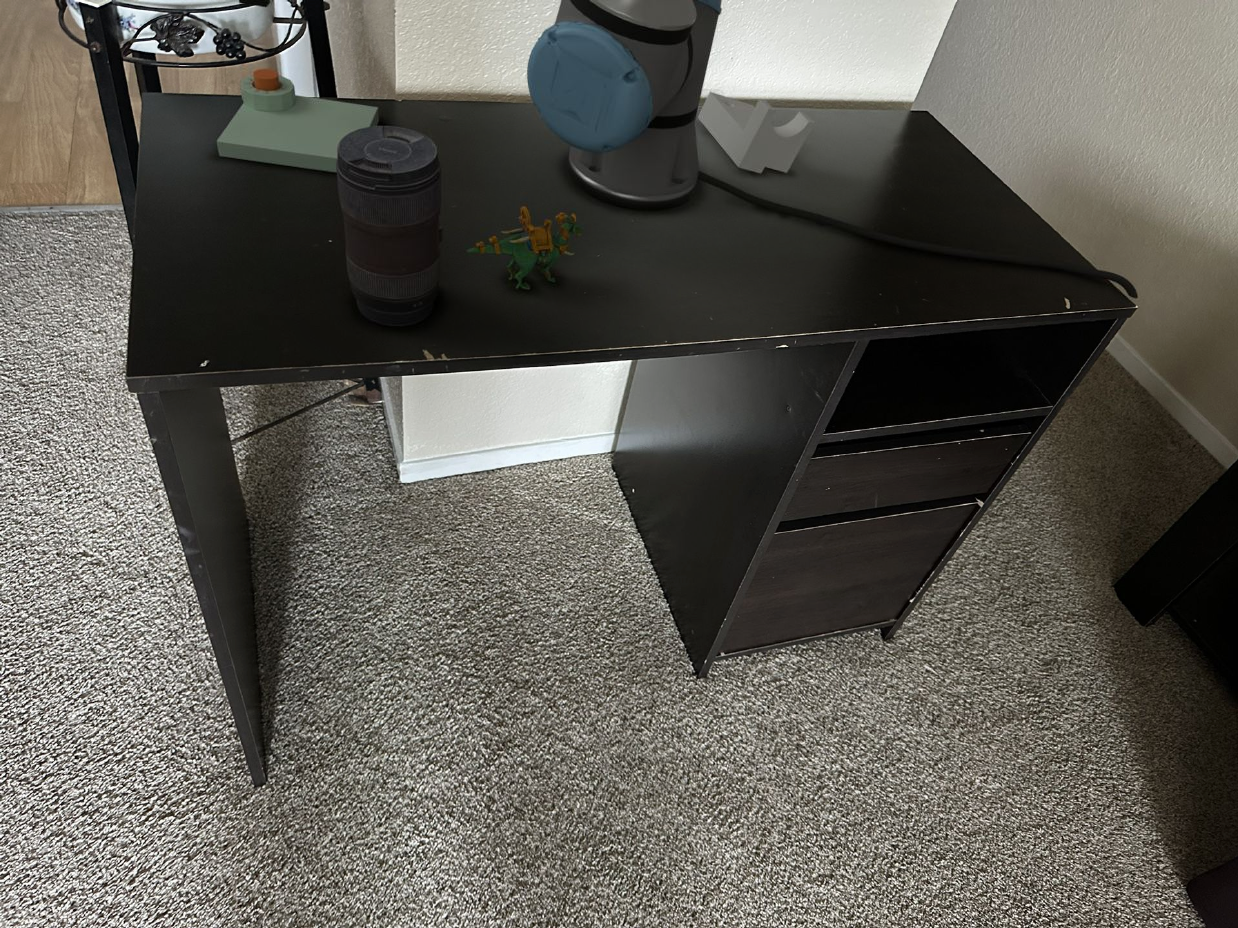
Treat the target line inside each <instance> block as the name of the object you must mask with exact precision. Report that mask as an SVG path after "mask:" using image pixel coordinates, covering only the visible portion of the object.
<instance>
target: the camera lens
mask: <svg viewBox="0 0 1238 928" xmlns="http://www.w3.org/2000/svg"><path fill="white" fill-rule="evenodd" d="M337 155H338V156H337V161H336V170H337V173H336V178H337V179H336V180H337V189H338V190H337V191H338V198H339V204H340V210H341V212H342V217H343V227H344V228H343V229H344V238H345V239H344V240H345V260H346V271H347V276H348V279H349V282H350V283H349V285H350V290H351V293H352V294H353V296H354V298H355V299H356V304H357V308H358V310H359V312H360V313H361V314H362V315H363V316H364V317H365V318H366V319H368V320H369V321H371V322H374V323H377V324H379V325H384V326H390V327H403V326H410V325H414V324H417V323H420V322H422V321H423V320H424V319H426V318H428V317H429V316H430V314H431V313H432V311H433V308H434V301H435V299H436V298H437V296H438V293H439V285H440V284H439V283H440V278H441V250H440V244H441V243H442V242H443V237H444V236H443V235H444V234H443V232H444V231H443V230H444V229H443V224H442V221H441V219H440V215H441V207H442V206H441V205H442V166H441V162H440V159H439V152H438V147H437V145H436V143H435V142H434V140H432V139H431V138H430V137H429V136H426V135H425V134H424V133H422V132H419V131H417V130H413V129H410V128H406V127H400V126H393V125H377V126H372V127H365V128H361V129H358V130H355V131H353V132H350V133H348V134H347V135H345V136H344V137H343V138H342V139H341V140H340V142H339V143H338V147H337Z"/></svg>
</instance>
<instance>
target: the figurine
mask: <svg viewBox="0 0 1238 928" xmlns="http://www.w3.org/2000/svg"><path fill="white" fill-rule="evenodd" d="M519 210H520V216H518V220H519V223H520V224H522V227H521V228H517V229H512V230H508V231H502V230H500V232H501V233H503V234H504V235H511V236H509V237H507V238H504V239H502V240H498V238H497V237H496V235H494V236H492V237H490V238H488V241H489V243H488V244H485V243H484V241H479V242H476V243H475V245H476V246H475V247H471V248H468V249H466V252H467V253H468V254H469V253H470V254H479V255H483V254H494V255H501V254H505V255H508V256H509V257H510V258H511V261H510V263H509V265H508V266H507V269H508V272H509V273H510V277H509V278H508V280H509V281H512V280H513V279H514V280H516V281H517V282H518V284H517V285H516V287H515V288H516V289H519V288H522V289H523V290H531V287H530V284H527V283H528V282H523V279H524V278H525V277H526V276H528V275H529V274H531V272H532V271H533V269H534V267H537V268H538V270H540V272H541V273H542V274H544V276H545V278H547V281H548V282H552V283H556V278H555V277H551V276H552V275H551V272H550V269H551V268H552V267H553V266H554V265H555V264H556V262H557V260H558V259H559V258H560V255H564V256H566V257H567V256H568V257H570V256H573V255H574V254H575V252H573V253H571V252H569V251H567V249H568V248H569V240H570V234H577V236H579V237H580V236H582V229H581V227H580V225H579V222H578V221H577V216H576V215H575V214H574V213H571V215H570V216H568V214H565V213H564V212H560V213H559V214H557V215H555V220H556V221H557V224H558V225H560V226H559V228H558V231H557V232H556V235H553V234H552V233H551V231H550V230H551V227H552V223H553V221H552V220H550V219H545V220H544V223H543V224H544V225H543V226H533V224H532V222H531V215H530V211H529V210H528V208H527V207H526V206H524V205H522V206H521V207H520V209H519ZM563 221H567V222H565V223H563ZM516 266H519V267H520V270H519V271H518V272H517V271H516V269H515V267H516ZM544 266H545V267H544Z"/></svg>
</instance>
